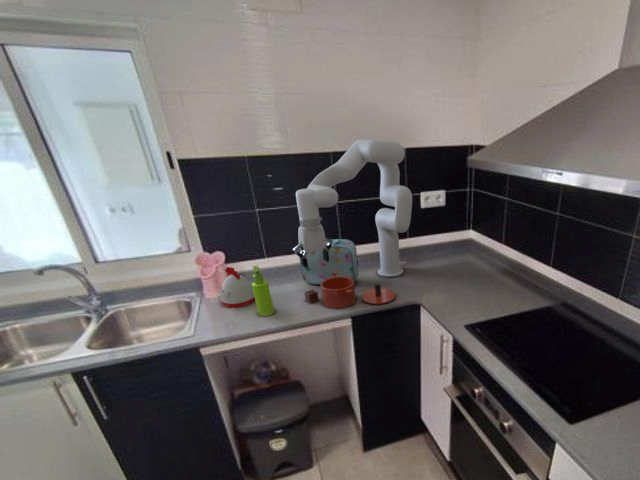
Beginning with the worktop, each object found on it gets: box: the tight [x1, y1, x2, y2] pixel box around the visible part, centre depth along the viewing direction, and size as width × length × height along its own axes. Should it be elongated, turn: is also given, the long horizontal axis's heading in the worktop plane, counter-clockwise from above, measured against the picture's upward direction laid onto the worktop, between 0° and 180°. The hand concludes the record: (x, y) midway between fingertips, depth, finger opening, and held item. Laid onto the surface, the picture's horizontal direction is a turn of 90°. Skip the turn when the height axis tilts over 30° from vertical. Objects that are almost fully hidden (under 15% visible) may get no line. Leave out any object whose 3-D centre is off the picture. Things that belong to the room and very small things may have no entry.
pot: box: [320, 277, 357, 310], centre depth 160 cm, size 14×19×8 cm
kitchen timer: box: [219, 266, 256, 308], centre depth 161 cm, size 14×14×15 cm
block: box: [304, 289, 320, 304], centre depth 162 cm, size 4×4×4 cm
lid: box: [361, 282, 396, 305], centre depth 164 cm, size 15×15×7 cm
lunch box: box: [298, 238, 361, 286], centre depth 175 cm, size 27×10×21 cm, turn 84°
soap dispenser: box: [252, 265, 275, 317], centre depth 149 cm, size 6×7×20 cm
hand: (316, 263), depth 155 cm, fingers open, 9 cm apart
